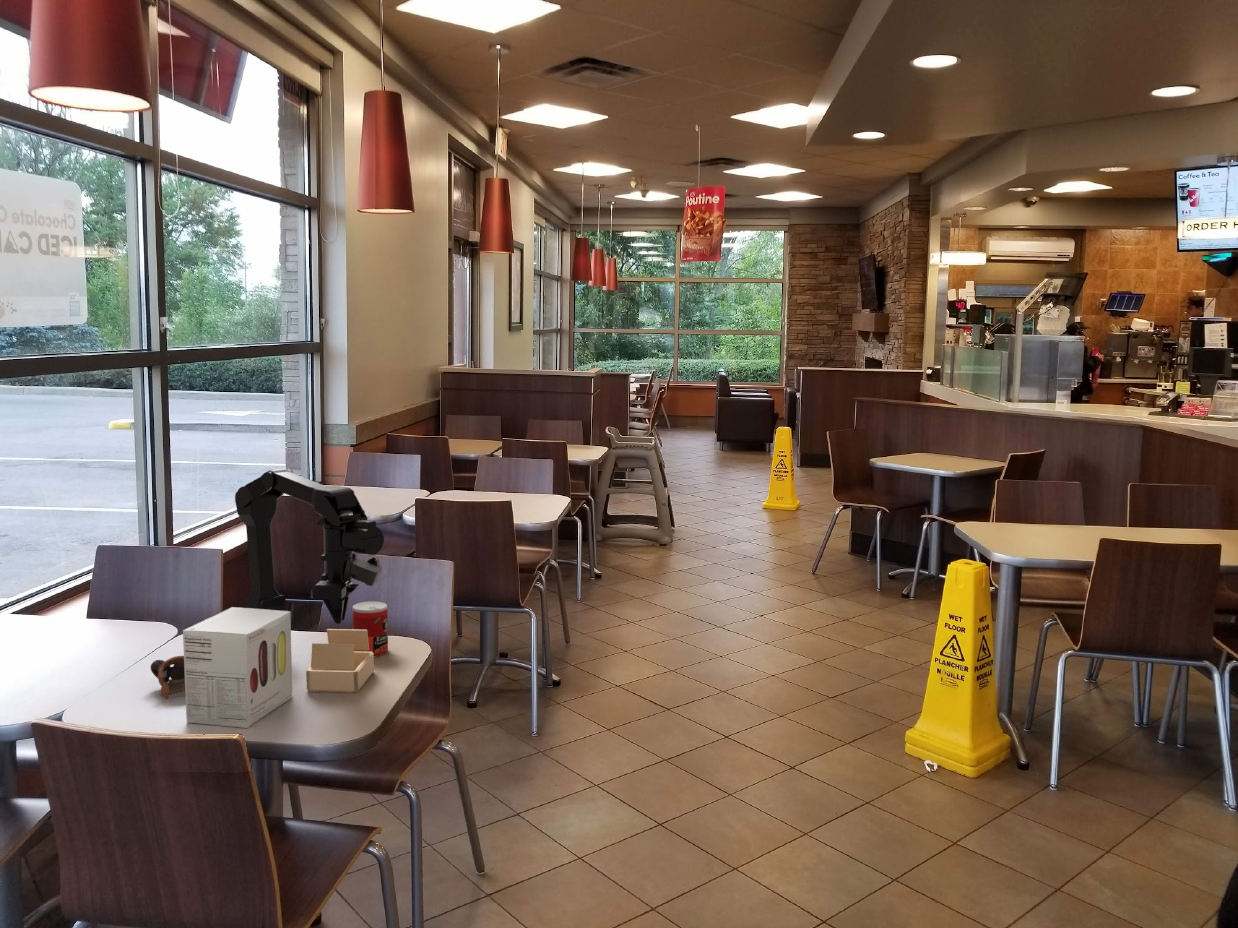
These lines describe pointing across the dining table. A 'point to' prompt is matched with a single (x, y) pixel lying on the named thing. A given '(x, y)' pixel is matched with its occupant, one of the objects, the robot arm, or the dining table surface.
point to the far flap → (349, 638)
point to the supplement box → (237, 666)
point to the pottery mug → (170, 675)
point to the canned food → (372, 625)
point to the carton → (341, 676)
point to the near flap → (332, 656)
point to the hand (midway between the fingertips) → (340, 621)
